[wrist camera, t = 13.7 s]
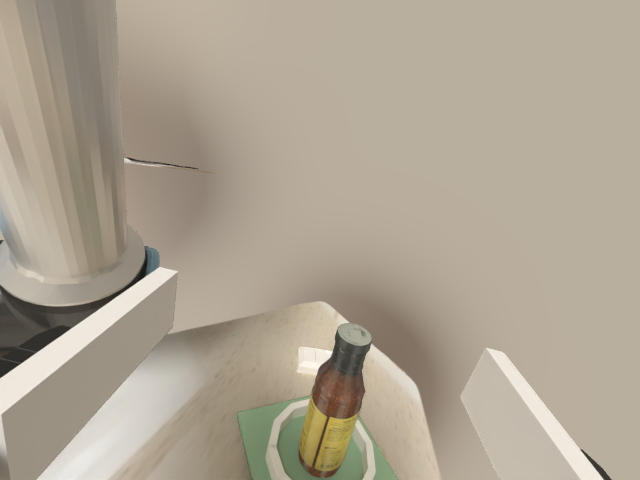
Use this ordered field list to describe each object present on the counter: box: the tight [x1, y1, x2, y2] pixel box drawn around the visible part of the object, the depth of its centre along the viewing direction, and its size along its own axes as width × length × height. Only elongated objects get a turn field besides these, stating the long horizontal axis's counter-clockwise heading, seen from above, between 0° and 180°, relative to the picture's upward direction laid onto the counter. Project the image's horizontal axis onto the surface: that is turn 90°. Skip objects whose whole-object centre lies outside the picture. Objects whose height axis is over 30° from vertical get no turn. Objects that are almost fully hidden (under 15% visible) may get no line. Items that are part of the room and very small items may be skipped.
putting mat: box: [237, 396, 398, 480], centre depth 39 cm, size 18×18×3 cm
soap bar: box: [297, 346, 333, 375], centre depth 55 cm, size 5×9×3 cm, turn 92°
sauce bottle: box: [299, 323, 372, 478], centre depth 36 cm, size 7×6×20 cm
